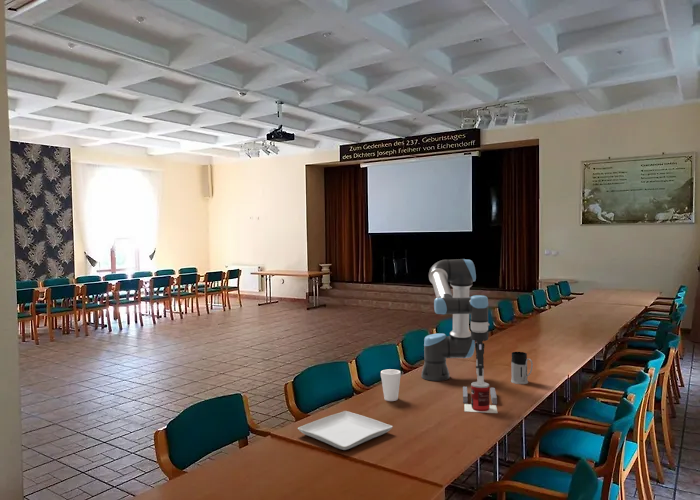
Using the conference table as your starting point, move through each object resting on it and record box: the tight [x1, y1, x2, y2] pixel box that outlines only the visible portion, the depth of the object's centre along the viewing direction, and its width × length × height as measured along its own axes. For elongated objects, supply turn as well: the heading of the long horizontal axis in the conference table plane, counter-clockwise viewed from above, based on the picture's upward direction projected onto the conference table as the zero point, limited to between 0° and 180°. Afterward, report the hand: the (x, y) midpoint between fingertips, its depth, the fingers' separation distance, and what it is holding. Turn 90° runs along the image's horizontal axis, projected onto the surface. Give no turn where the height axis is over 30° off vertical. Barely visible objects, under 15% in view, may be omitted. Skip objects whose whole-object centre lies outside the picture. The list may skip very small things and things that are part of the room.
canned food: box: [470, 381, 491, 411], centre depth 232 cm, size 8×8×11 cm
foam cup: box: [380, 368, 402, 402], centre depth 249 cm, size 10×9×13 cm
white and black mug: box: [510, 351, 534, 385], centre depth 271 cm, size 9×14×15 cm, turn 21°
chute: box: [462, 386, 499, 414], centre depth 241 cm, size 15×28×3 cm, turn 168°
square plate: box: [297, 410, 394, 451], centre depth 205 cm, size 27×27×4 cm
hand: (480, 378), depth 232 cm, fingers open, 13 cm apart
